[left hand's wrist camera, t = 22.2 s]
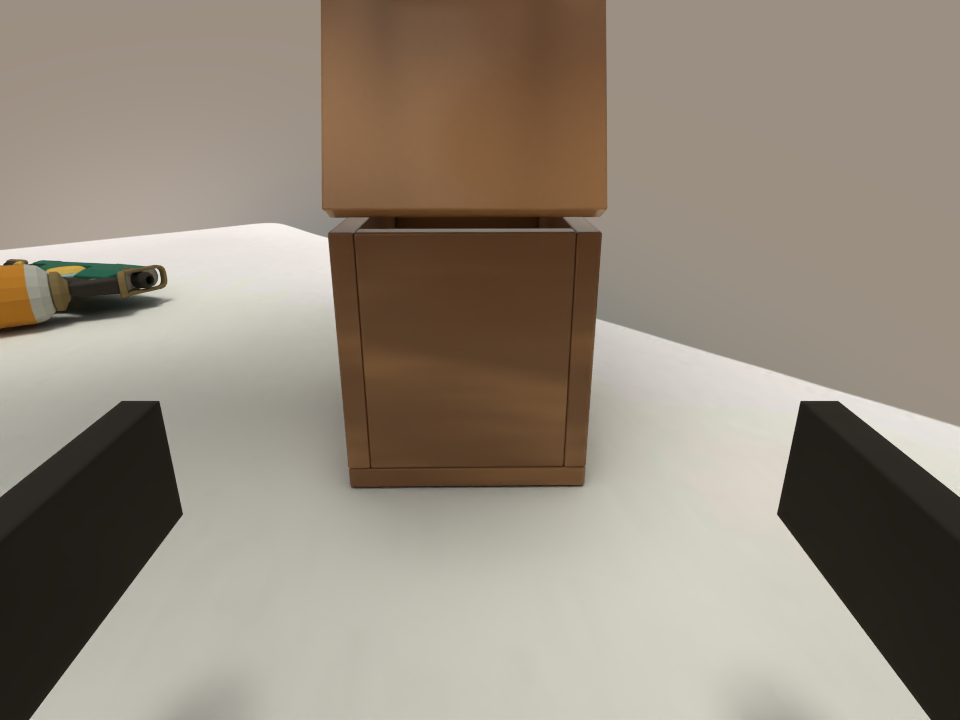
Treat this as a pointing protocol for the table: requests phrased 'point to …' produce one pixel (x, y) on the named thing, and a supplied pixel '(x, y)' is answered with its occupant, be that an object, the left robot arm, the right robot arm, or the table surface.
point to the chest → (465, 348)
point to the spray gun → (65, 286)
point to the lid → (464, 108)
